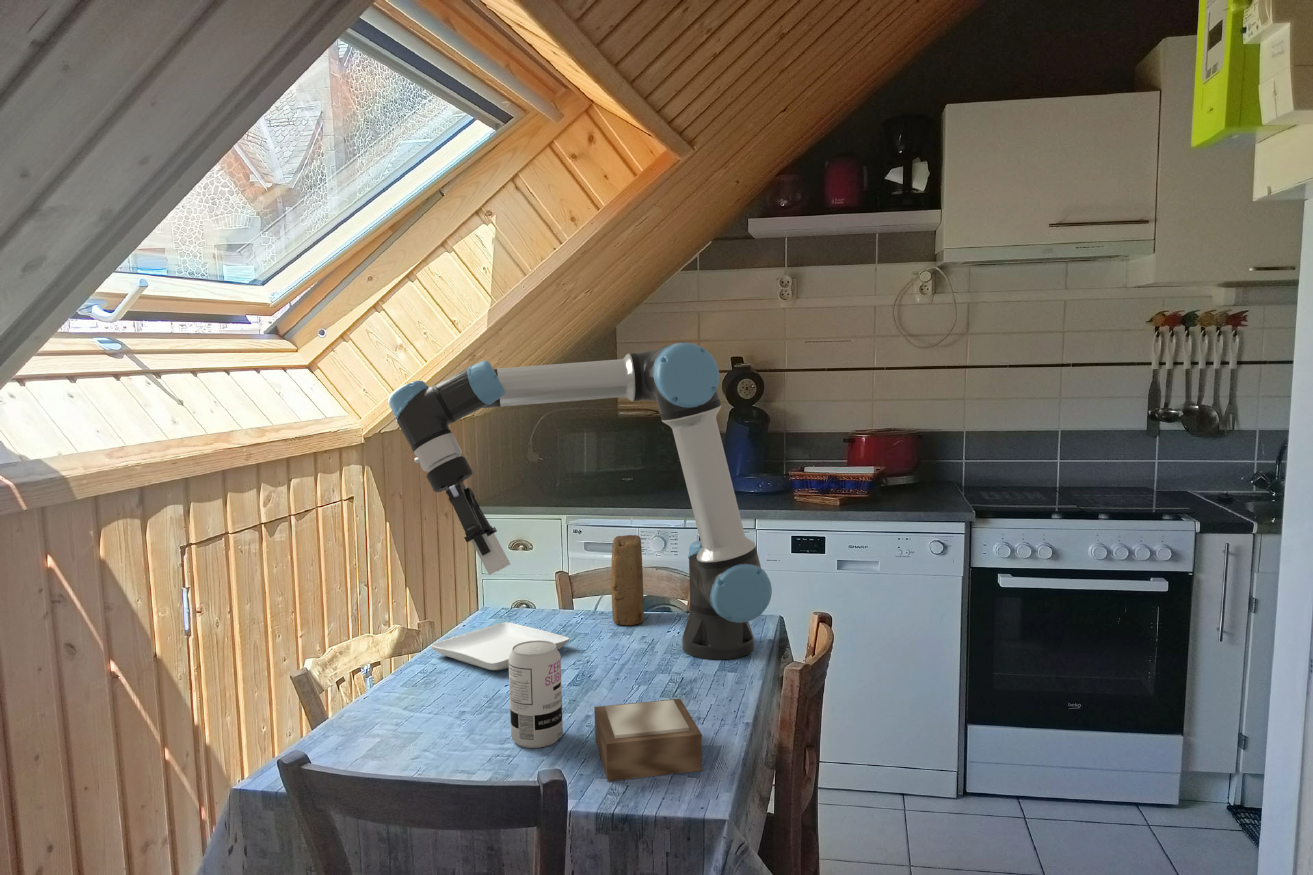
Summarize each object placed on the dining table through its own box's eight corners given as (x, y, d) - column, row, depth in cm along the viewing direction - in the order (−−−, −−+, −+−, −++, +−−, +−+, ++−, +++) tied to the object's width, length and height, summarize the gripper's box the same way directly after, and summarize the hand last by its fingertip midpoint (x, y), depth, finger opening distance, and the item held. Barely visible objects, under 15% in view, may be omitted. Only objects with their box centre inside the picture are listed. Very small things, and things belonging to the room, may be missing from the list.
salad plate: (506, 634, 194) (505, 619, 193) (572, 652, 180) (572, 636, 180) (428, 659, 177) (427, 643, 177) (494, 681, 164) (493, 663, 164)
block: (643, 627, 196) (641, 541, 194) (611, 627, 196) (609, 541, 194) (645, 613, 207) (643, 532, 205) (614, 614, 207) (612, 532, 205)
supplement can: (512, 729, 140) (509, 640, 139) (562, 726, 141) (560, 638, 140) (509, 751, 132) (506, 656, 131) (563, 747, 133) (560, 653, 132)
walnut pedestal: (681, 731, 138) (680, 695, 138) (702, 770, 125) (701, 730, 124) (595, 740, 136) (594, 703, 135) (607, 781, 122) (606, 740, 121)
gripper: (437, 478, 164) (488, 576, 162) (411, 469, 139) (472, 584, 138) (472, 460, 165) (524, 557, 163) (452, 447, 140) (513, 561, 139)
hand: (500, 569), depth 151 cm, fingers open, 13 cm apart
